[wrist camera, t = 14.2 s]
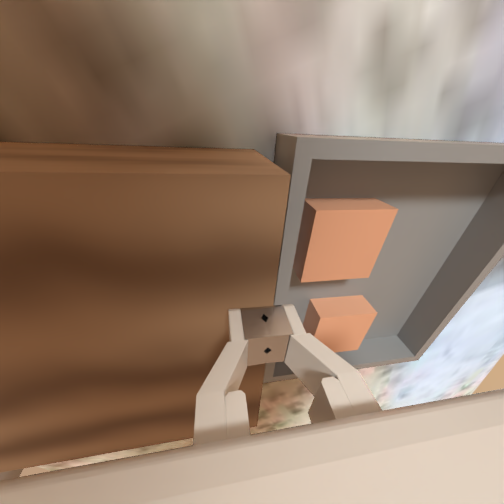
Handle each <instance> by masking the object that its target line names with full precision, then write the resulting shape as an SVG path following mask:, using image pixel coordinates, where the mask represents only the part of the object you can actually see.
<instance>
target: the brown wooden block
mask: <svg viewBox="0 0 504 504" xmlns="http://www.w3.org/2000/svg"><path fill="white" fill-rule="evenodd" d="M290 177H291V175H290V174H289V173H287V172H286V171H284V170H283V169H281V168H280V167H279V166H277V165H276V164H274V163H273V162H271V161H270V160H268V159H267V158H266V157H264V156H263V155H261V154H260V153H258V152H257V151H255V150H254V149H226V148H192V147H159V146H126V145H93V144H59V143H26V142H0V473H1V472H6V471H12V470H17V469H23V468H28V467H34V466H39V465H45V464H50V463H56V462H62V461H67V460H73V459H78V458H84V457H89V456H95V455H100V454H106V453H111V452H117V451H122V450H128V449H133V448H139V447H144V446H150V445H155V444H161V443H166V442H172V441H177V440H183V439H189V438H194V423H195V409H196V395H197V393H198V392H199V390H200V388H201V386H202V385H203V383H204V381H205V380H206V378H207V376H208V374H209V373H210V371H211V369H212V368H213V366H214V364H215V362H216V361H217V359H218V357H219V356H220V354H221V352H222V350H223V349H224V347H225V345H226V344H227V342H229V322H228V310H229V309H238V308H252V307H263V306H273V303H274V295H275V288H276V281H277V273H278V266H279V258H280V251H281V244H282V236H283V229H284V221H285V214H286V207H287V199H288V192H289V185H290ZM264 369H265V363H264V364H258V365H251V366H247V369H246V371H245V374H244V376H243V379H242V381H241V384H240V386H239V389H238V390H241V391H243V392H244V393H245V395H246V403H247V411H248V419H249V427H255V426H257V421H258V414H259V406H260V399H261V391H262V384H263V377H264Z"/></svg>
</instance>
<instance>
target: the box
mask: <svg viewBox="0 0 504 504" xmlns="http://www.w3.org/2000/svg"><path fill="white" fill-rule="evenodd" d="M274 164H276V165H277V166H279V167H280V168H281V169H283V170H284V171H286V172H287V173H289V174H290V175H291V177H290V185H289V192H288V199H287V207H286V214H285V221H284V229H283V236H282V244H281V251H280V258H279V266H278V273H277V281H276V288H275V295H274V303H273V305H285V304H293V305H294V307H295V309H296V311H297V313H298V316H299V318H300V320H301V322H302V325H303V322H304V318H305V315H306V311H307V308H308V304H309V301H310V299H316V298H329V297H342V296H355V295H363V296H364V298H365V299H366V300H367V301H368V302H369V303H370V305H371V306H372V307H373V308H374V309H375V310H376V312H377V315H376V317H375V319H374V320H373V322H372V324H371V326H370V328H369V330H368V332H367V333H366V335H365V337H364V339H363V341H362V343H361V344H360V346H359V348H358V350H351V351H343V352H335V353H336V354H337V355H339V356H340V357H341V358H342V359H344V360H345V361H346V362H348V363H349V364H350V365H351V366H353V367H354V368H355V369H362V368H368V367H375V366H382V365H388V364H395V363H402V362H409V361H415V360H419V358H420V357H421V356H422V355H423V353H424V352H425V351H426V350H427V349H428V347H429V346H430V345H431V344H432V342H433V341H434V340H435V339H436V338H437V336H438V335H439V334H440V333H441V331H442V330H443V329H444V328H445V326H446V325H447V324H448V323H449V322H450V320H451V319H452V318H453V317H454V315H455V314H456V313H457V312H458V311H459V309H460V308H461V307H462V306H463V304H464V303H465V302H466V301H467V300H468V298H469V297H470V296H471V295H472V293H473V292H474V291H475V290H476V288H477V287H478V286H479V285H480V284H481V282H482V281H483V280H484V279H485V277H486V276H487V275H488V274H489V273H490V271H491V270H492V269H493V268H494V266H495V265H496V264H497V263H498V262H499V260H500V259H501V258H502V257H503V255H504V143H492V142H468V141H445V140H422V139H399V138H376V137H352V136H329V135H306V134H283V133H277V136H276V147H275V158H274ZM305 198H376V199H378V200H380V201H382V202H384V203H387V204H389V205H391V206H393V207H395V208H397V209H398V211H397V214H396V216H395V218H394V221H393V223H392V225H391V228H390V230H389V232H388V234H387V237H386V239H385V241H384V244H383V246H382V248H381V251H380V253H379V255H378V257H377V260H376V262H375V264H374V267H373V269H372V271H371V273H370V276H369V278H357V279H343V280H330V281H316V282H302V283H301V282H300V280H299V278H298V277H297V275H296V273H295V271H294V269H293V263H294V257H295V252H296V246H297V241H298V235H299V229H300V224H301V218H302V213H303V207H304V202H305ZM294 378H298V377H297V376H296V375H295V374H294V373H293V371H292V370H291V369H290V368H289V367H288V366H287V365H286V363H285V361H283V362H273V363H265V369H264V377H263V383H268V382H274V381H281V380H288V379H294Z"/></svg>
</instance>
